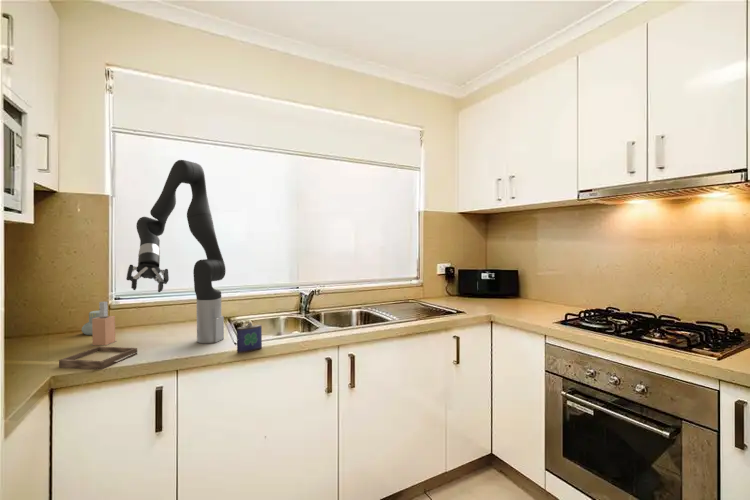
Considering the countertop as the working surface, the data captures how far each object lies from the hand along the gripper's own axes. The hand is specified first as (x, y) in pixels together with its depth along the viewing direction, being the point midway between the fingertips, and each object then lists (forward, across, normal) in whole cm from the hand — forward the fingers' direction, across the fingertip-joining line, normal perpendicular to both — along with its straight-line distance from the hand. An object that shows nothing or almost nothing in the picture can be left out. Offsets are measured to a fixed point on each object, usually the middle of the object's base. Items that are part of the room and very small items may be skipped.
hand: (147, 290), depth 143 cm
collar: (+13, -10, +20) cm, 25 cm away
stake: (+14, -9, +20) cm, 26 cm away
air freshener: (+1, -10, +37) cm, 39 cm away
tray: (+26, -12, +5) cm, 29 cm away
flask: (+33, +31, -17) cm, 48 cm away
